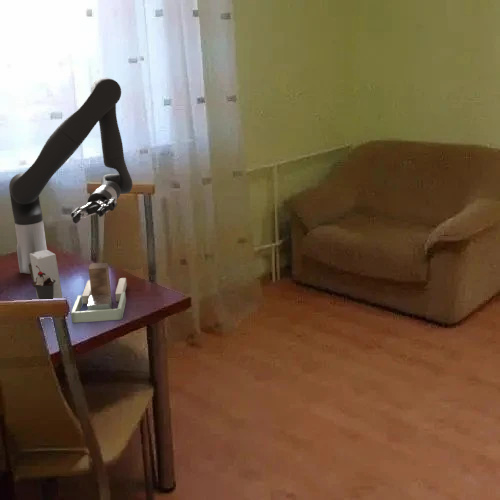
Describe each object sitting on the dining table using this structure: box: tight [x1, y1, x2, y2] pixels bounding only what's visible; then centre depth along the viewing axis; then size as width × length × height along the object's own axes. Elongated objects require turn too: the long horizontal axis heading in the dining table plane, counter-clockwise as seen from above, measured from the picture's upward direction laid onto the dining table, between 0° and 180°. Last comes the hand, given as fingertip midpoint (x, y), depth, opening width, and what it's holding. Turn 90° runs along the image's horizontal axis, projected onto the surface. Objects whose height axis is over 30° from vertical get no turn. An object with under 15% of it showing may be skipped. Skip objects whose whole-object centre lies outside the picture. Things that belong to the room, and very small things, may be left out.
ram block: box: [88, 262, 113, 302], centre depth 227 cm, size 5×5×12 cm
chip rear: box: [88, 293, 113, 309], centre depth 224 cm, size 6×4×4 cm, turn 94°
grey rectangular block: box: [86, 299, 112, 311], centre depth 220 cm, size 6×4×4 cm, turn 94°
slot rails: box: [81, 277, 128, 305], centre depth 236 cm, size 12×14×2 cm
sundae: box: [31, 266, 56, 300], centre depth 220 cm, size 7×7×15 cm
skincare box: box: [30, 249, 64, 300], centre depth 232 cm, size 8×6×15 cm
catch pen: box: [70, 291, 127, 324], centre depth 222 cm, size 14×14×3 cm
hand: (87, 217), depth 235 cm, fingers open, 8 cm apart
